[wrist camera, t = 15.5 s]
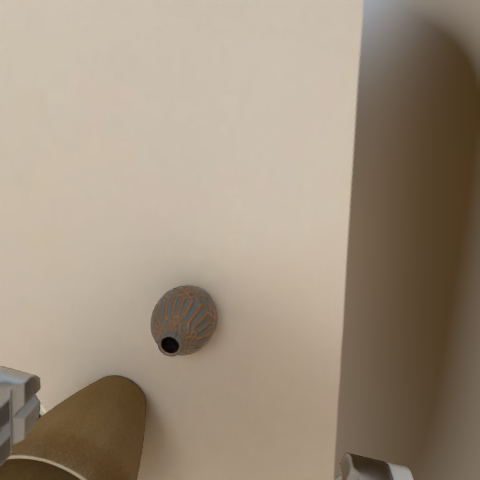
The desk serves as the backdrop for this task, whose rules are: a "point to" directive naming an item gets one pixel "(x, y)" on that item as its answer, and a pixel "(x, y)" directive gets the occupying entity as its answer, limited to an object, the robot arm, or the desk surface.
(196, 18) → the desk surface
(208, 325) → the vase
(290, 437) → the desk surface
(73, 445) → the plant pot
